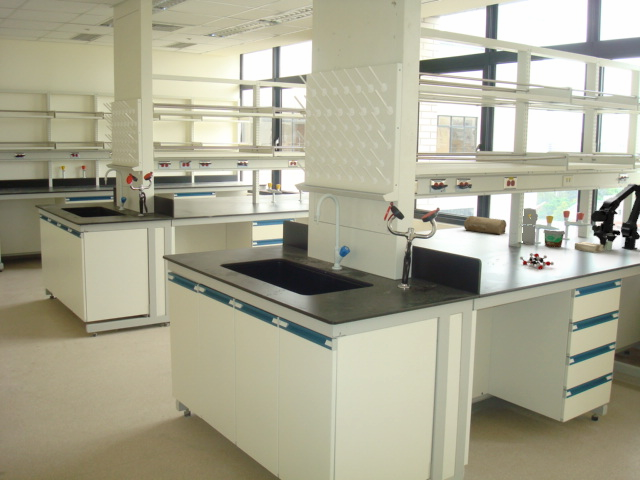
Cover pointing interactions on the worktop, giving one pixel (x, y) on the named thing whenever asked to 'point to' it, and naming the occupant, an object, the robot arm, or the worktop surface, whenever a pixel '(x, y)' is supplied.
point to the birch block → (589, 247)
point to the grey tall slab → (529, 231)
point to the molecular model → (537, 261)
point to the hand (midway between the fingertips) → (605, 247)
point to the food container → (553, 238)
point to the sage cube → (608, 245)
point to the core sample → (485, 225)
